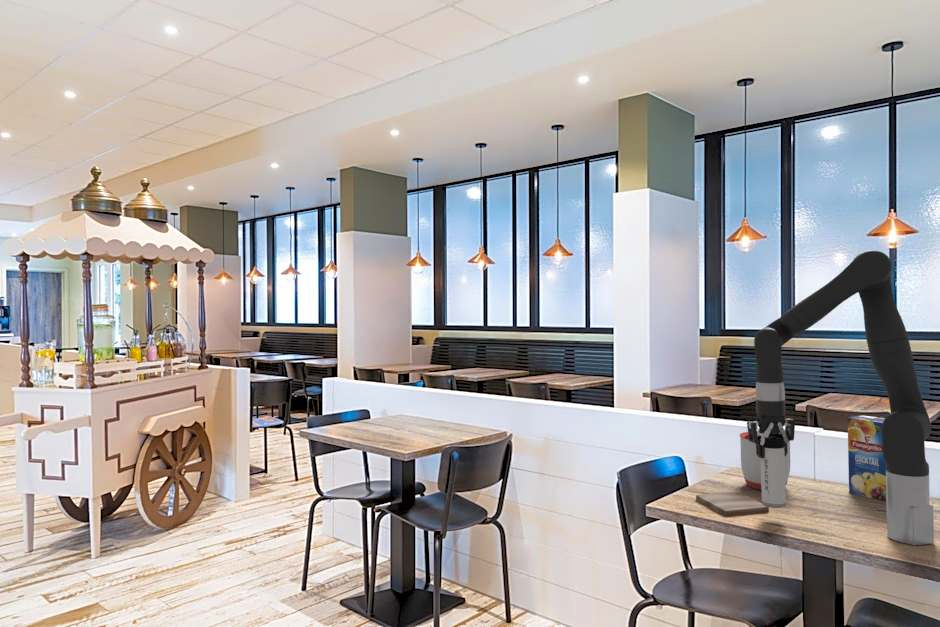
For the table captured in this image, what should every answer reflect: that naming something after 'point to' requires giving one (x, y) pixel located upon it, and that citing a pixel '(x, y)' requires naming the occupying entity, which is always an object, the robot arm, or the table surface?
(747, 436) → the citrus juicer
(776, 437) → the travel mug
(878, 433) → the juice carton
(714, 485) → the table surface
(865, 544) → the table surface
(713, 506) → the walnut board
